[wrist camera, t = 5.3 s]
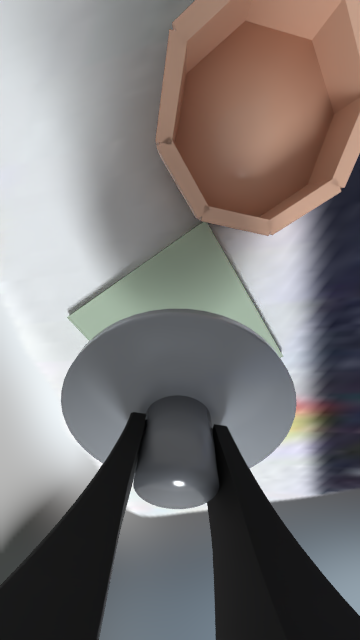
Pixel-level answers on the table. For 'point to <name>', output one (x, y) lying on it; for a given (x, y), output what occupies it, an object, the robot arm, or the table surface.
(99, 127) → the table surface
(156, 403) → the lid
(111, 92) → the table surface
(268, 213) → the dish
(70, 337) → the table surface
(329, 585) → the robot arm
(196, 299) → the mat
